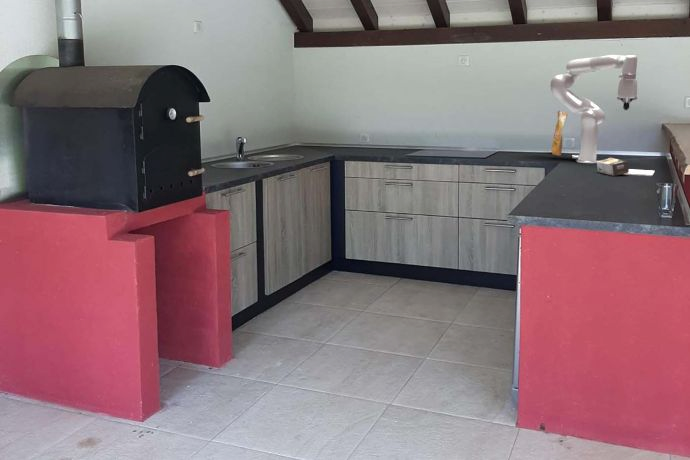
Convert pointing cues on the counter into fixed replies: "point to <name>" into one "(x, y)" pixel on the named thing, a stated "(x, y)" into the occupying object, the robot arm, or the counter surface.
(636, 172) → the mat
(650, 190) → the counter surface
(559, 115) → the pancake mix bag
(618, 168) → the coffee box
